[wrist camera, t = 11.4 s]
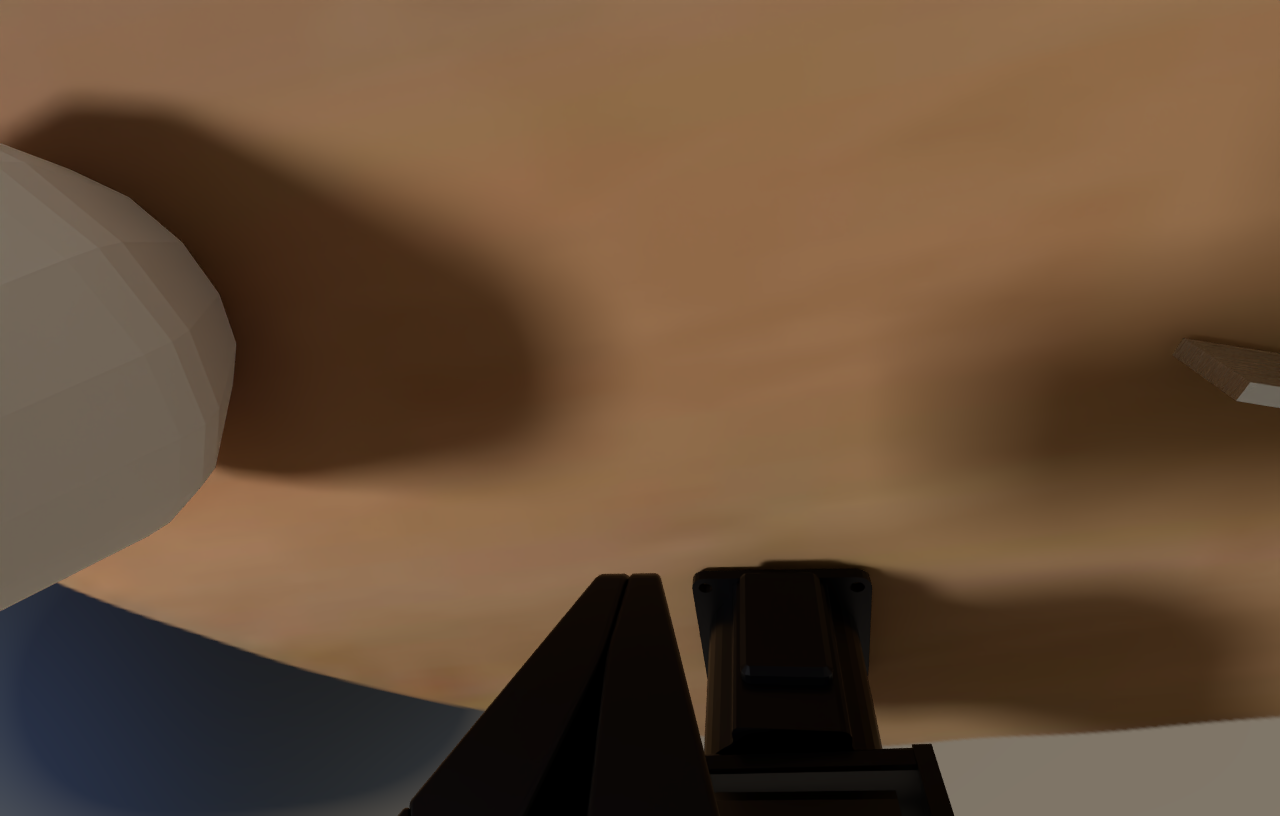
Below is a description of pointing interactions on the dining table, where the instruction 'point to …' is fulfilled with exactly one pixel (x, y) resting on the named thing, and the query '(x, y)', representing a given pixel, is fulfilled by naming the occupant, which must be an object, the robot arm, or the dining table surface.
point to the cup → (98, 374)
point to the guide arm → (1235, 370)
